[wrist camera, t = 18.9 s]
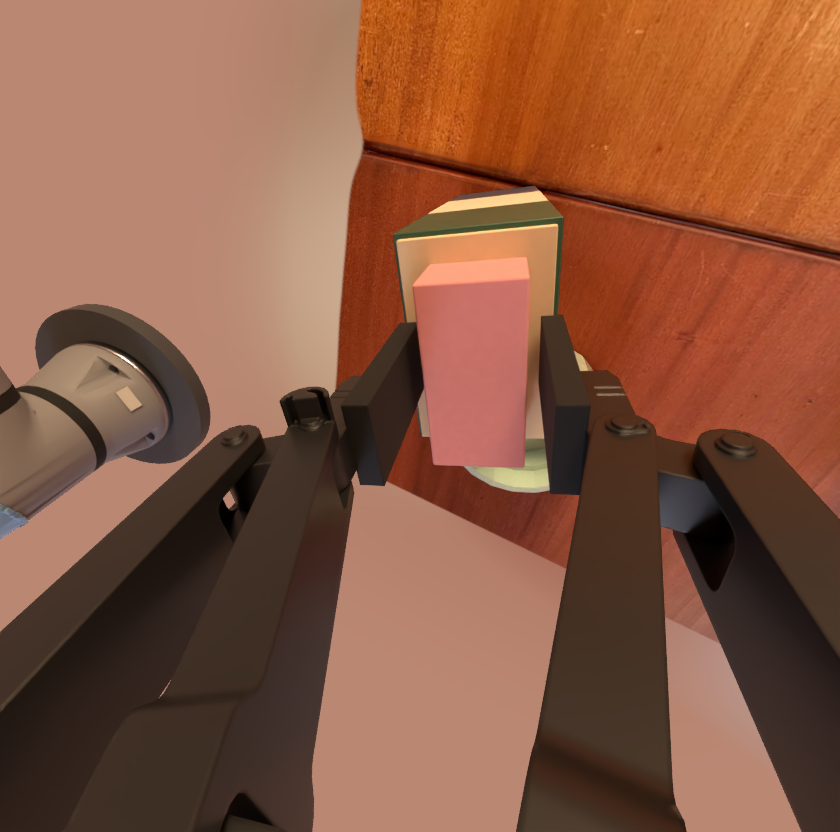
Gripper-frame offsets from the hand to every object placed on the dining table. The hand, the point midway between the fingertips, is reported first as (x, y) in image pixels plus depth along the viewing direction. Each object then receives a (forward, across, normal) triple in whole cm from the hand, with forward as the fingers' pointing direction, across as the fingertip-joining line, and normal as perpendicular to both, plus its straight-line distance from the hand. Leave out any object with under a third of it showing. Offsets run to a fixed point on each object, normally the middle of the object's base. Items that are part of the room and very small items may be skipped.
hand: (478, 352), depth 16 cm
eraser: (0, 0, 0) cm, 0 cm away
